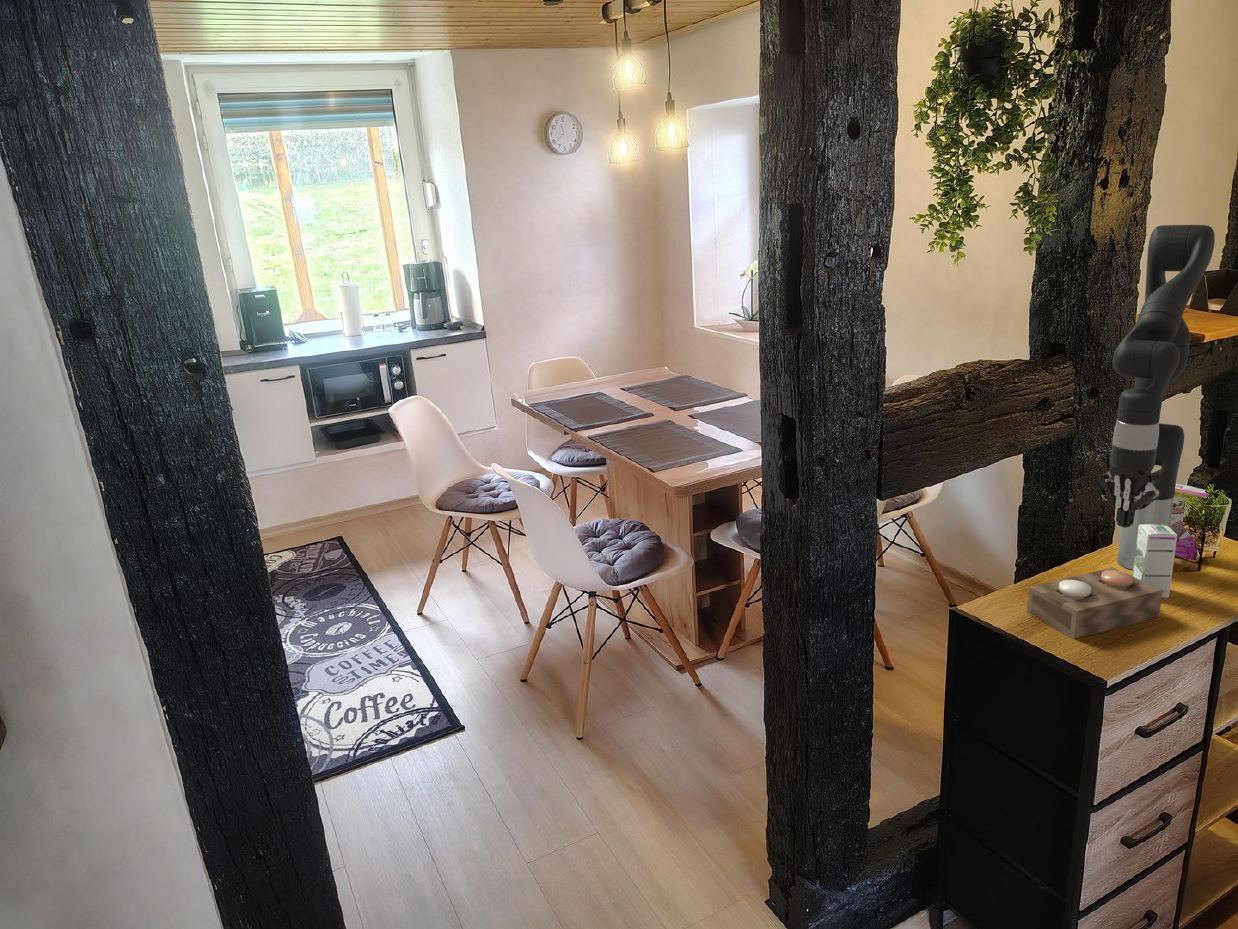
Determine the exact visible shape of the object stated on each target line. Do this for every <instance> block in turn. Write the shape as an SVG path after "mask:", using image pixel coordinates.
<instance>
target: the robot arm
mask: <svg viewBox="0 0 1238 929" xmlns="http://www.w3.org/2000/svg"><path fill="white" fill-rule="evenodd" d="M1148 241H1149V242H1148V245H1147V246H1148V247H1147V259H1146V272H1145V273H1146V276H1145V293H1144V303H1143V304H1142V306H1141V309H1140V311H1139V314H1138V317H1137V321H1136V323H1135V325H1134V326H1133V327H1132V329H1131V330H1130V331H1129V332H1128V333H1127V334H1126V335H1125V337H1124V338H1122V340H1121V341H1120V343H1118V345H1117V347H1116V349H1115V350H1114V353H1113V357H1112V367H1113V369H1114V371H1115V372H1116V373H1117V375H1120V376H1122V377H1129V378H1134V387H1133V388H1128V389H1125V390H1124V391H1122V392H1121V393H1120V396H1119V399H1118V407H1117V415H1116V422H1115V426H1114V429H1113V437H1112V443H1111V444H1112V446H1111V451H1110V459H1109V463H1110V465H1111V466H1110V467H1109V471H1108V472H1106V473H1102V474H1099V475H1098V480H1099V482H1100V484H1101V486H1102V488H1103V490H1104V493H1105V496H1106V497H1107V499H1108V502H1109V503H1114V505H1115V506H1116V515H1115V516H1116V517H1115V521H1116V525H1117V526H1119V527H1121V528H1120V533H1119V534H1120V536H1119V542H1118V550H1117V557H1116V561H1117V563H1118V565H1120V566H1122V567H1123V568H1126V569H1129V570H1131V571H1133V568H1134V561H1135V553H1136V544H1137V536H1138V529H1139V525H1143V524H1161V525H1167V526H1168V527H1169V528H1170V529H1171V530H1172V526H1171V525H1170V521H1171V515H1172V507H1173V501H1174V494H1175V486H1176V483H1177V479H1178V473H1179V467H1180V462H1181V457H1182V453H1183V449H1184V443H1185V431H1184V429H1183V427H1182V426H1180V425H1176V424H1168V423H1160V418H1161V413H1162V412H1161V410H1162V404H1163V400H1164V397H1165V393H1166V390H1167V389H1168V388H1169V387H1170V386H1171V385H1172V384H1173V383H1174V382H1175V381H1177V379H1178V378H1179V377H1180V376H1181V375H1182V373H1183V372H1184V371H1185V369H1186V367H1187V364H1188V359H1189V353H1190V352H1189V351H1190V345H1191V333H1190V329H1189V327H1188V324H1187V323H1186V321H1185V319H1184V318H1183V316H1184V312H1185V309H1186V307H1187V305H1188V303H1189V300H1191V297H1192V295H1193V294H1194V293H1195V291H1196V289H1197V287H1198V285H1199V283H1200V282H1201V279H1202V278H1203V276H1204V274H1205V272H1206V271H1207V268H1208V267H1209V265H1210V262H1211V260H1212V257H1213V253H1214V249H1215V230H1214V229H1213V227H1211V226H1210V225H1206V224H1166V225H1165V224H1164V225H1163V224H1162V225H1158V226H1156V227H1154V229H1153V230H1152V232H1151V233H1150V237H1149V240H1148ZM1166 272H1179V273H1177V274H1176V275H1175V276H1174V277H1172V278H1171V279H1170V280H1168V281H1167V280H1166ZM1155 466H1159V467H1161V468H1160V469H1158V470H1156V471H1153V470H1154V468H1155Z"/></svg>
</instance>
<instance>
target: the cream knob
mask: <svg viewBox="0 0 1238 929" xmlns="http://www.w3.org/2000/svg"><path fill="white" fill-rule="evenodd" d="M1059 591H1060V592H1061V593H1063V595H1064V596H1066V597H1068V598H1070V599H1072V600H1074V601H1076V600H1080V599H1084V598H1085V597H1087V596H1089V595H1090V592H1091V587H1090V586H1089V585H1088V584H1086V583H1084V582H1081V581H1077V580H1064V581H1061V582H1060V583H1059Z"/></svg>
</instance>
